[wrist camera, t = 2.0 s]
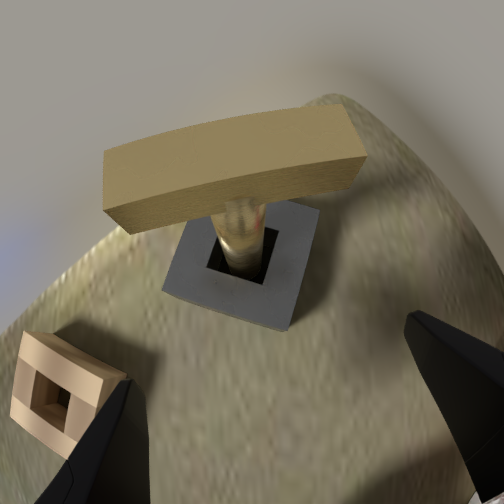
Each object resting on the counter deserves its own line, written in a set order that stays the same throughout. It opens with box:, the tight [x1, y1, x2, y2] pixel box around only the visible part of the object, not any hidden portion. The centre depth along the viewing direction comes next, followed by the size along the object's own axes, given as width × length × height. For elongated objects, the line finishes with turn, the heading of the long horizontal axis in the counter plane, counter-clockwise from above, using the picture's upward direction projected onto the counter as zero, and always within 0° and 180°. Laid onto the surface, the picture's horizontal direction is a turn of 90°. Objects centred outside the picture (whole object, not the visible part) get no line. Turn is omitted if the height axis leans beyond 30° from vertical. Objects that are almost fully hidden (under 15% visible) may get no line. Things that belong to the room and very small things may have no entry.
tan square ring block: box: [10, 331, 127, 459], centre depth 17 cm, size 8×8×4 cm
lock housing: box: [162, 200, 320, 332], centre depth 20 cm, size 8×8×4 cm
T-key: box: [103, 104, 368, 280], centre depth 15 cm, size 8×2×15 cm, turn 103°
